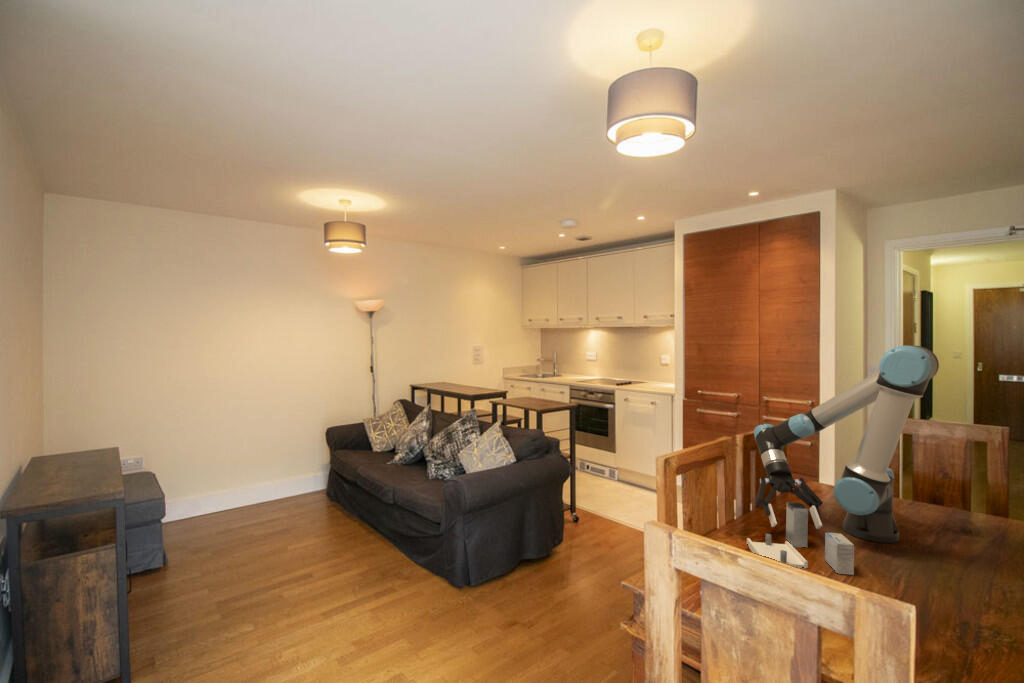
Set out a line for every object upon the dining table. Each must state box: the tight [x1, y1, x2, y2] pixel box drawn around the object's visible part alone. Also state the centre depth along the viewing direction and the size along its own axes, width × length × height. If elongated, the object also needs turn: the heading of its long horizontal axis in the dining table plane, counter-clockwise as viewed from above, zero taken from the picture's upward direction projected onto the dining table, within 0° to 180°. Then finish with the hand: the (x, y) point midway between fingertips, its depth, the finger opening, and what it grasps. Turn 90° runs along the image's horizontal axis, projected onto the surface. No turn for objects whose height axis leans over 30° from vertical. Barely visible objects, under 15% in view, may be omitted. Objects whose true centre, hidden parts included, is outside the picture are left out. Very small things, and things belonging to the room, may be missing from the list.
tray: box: [746, 533, 809, 570], centre depth 146 cm, size 12×14×4 cm
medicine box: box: [824, 532, 855, 576], centre depth 139 cm, size 8×4×9 cm, turn 168°
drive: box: [785, 501, 809, 549], centre depth 156 cm, size 4×6×12 cm
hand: (796, 526), depth 155 cm, fingers open, 13 cm apart
